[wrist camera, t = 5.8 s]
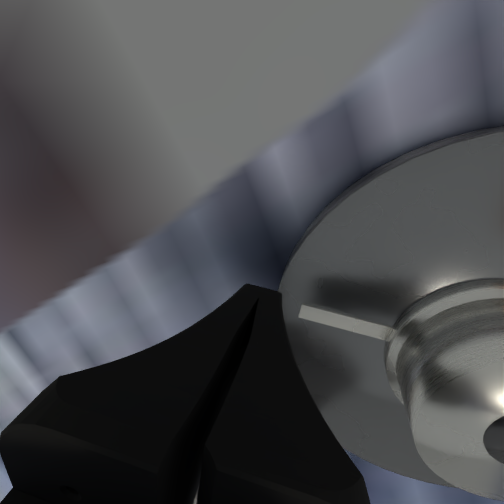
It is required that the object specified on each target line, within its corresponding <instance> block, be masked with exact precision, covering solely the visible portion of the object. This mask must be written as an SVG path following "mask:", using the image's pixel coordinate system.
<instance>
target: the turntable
mask: <svg viewBox="0 0 504 504" xmlns="http://www.w3.org/2000/svg"><path fill="white" fill-rule="evenodd" d="M483 279H504V126H502V127H496V128H489V129H482V130H476V131H472V132H469V133H465V134H461V135H457V136H454V137H450V138H446V139H442V140H439V141H436V142H434V143H431V144H428V145H426V146H423V147H421V148H418V149H416V150H413V151H410V152H408V153H405V154H403V155H401V156H400V157H398V158H396V159H394V160H392V161H390V162H388V163H386V164H384V165H382V166H380V167H378V168H377V169H375V170H373V171H372V172H370V173H369V174H367V175H366V176H364V177H363V178H361V179H360V180H358V181H357V182H355V183H354V184H353V185H351V186H350V187H348V188H347V189H346V190H345V191H344V192H342V193H341V194H340V195H339V196H338V197H337V198H336V199H334V200H333V201H332V202H331V203H330V204H329V205H328V206H326V208H325V209H324V210H323V211H322V212H321V213H320V214H319V215H318V216H317V218H316V219H315V220H314V221H313V222H312V223H311V224H310V225H309V227H308V228H307V230H306V231H305V233H304V234H303V236H302V237H301V238H300V240H299V241H298V243H297V244H296V246H295V248H294V250H293V252H292V254H291V256H290V258H289V260H288V262H287V264H286V266H285V269H284V272H283V276H282V279H281V282H280V285H279V289H278V292H281V294H282V309H283V316H284V321H285V326H286V330H287V334H288V338H289V342H290V345H291V348H292V351H293V354H294V357H295V360H296V362H297V365H298V367H299V370H300V372H301V375H302V377H303V379H304V381H305V383H306V386H307V388H308V390H309V392H310V394H311V396H312V397H313V399H314V401H315V403H316V405H317V407H318V408H319V410H320V412H321V414H322V416H323V418H324V419H325V421H326V423H327V424H328V426H329V427H330V429H331V431H332V432H333V434H334V435H335V437H336V439H337V440H338V442H339V443H340V445H341V446H342V447H343V448H344V449H346V450H348V451H350V452H351V453H353V454H355V455H357V456H358V457H360V458H362V459H364V460H366V461H368V462H370V463H372V464H375V465H377V466H379V467H381V468H384V469H386V470H389V471H392V472H394V473H397V474H400V475H403V476H406V477H410V478H413V479H417V480H420V481H424V482H428V483H433V484H438V485H443V486H448V487H454V488H458V487H456V486H454V485H452V484H450V483H448V482H447V481H445V480H444V479H442V478H441V477H439V476H438V475H437V474H435V473H434V472H433V471H432V470H431V469H430V468H429V467H428V466H427V465H426V464H425V462H424V461H423V460H422V458H421V456H420V455H419V453H418V451H417V448H416V446H415V442H414V439H413V435H412V431H411V428H410V424H409V420H408V417H407V413H406V410H405V406H404V405H403V404H402V403H401V402H400V400H399V399H398V398H397V397H396V395H395V394H394V392H393V390H392V389H391V386H390V383H389V381H388V377H387V373H386V369H385V364H384V347H385V342H386V339H387V336H388V334H389V332H390V330H391V328H392V327H393V325H394V324H395V323H396V321H397V320H398V319H399V317H400V316H401V315H402V314H403V313H404V312H405V311H406V310H407V309H409V308H410V307H411V306H413V305H414V304H415V303H417V302H418V301H420V300H421V299H423V298H425V297H426V296H428V295H430V294H432V293H435V292H437V291H439V290H441V289H444V288H447V287H450V286H453V285H456V284H460V283H464V282H469V281H476V280H483Z"/></svg>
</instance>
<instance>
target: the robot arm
mask: <svg viewBox="0 0 504 504" xmlns="http://www.w3.org/2000/svg"><path fill="white" fill-rule="evenodd" d="M0 454H1V457H2V460H3V462H4V465H5V468H6V470H7V473H8V475H9V478H10V481H11V483H12V486H13V488H12V489H11V491H10V492H9V493H8V494H7V495H6V497H5V498H4V499H3V500H2V501H1V503H0V504H193V503H194V500H195V496H196V493H197V490H198V487H199V490H198V498H197V504H370V500H369V496H368V492H367V488H366V485H365V481H364V478H363V476H362V474H361V473H360V471H359V470H358V469H357V467H356V466H355V465H354V463H353V462H352V460H351V459H350V458H349V456H348V455H347V453H346V452H345V451H344V449H343V448H342V446H341V445H340V443H339V442H338V440H337V439H336V437H335V435H334V434H333V432H332V431H331V429H330V427H329V426H328V424H327V423H326V421H325V419H324V418H323V416H322V414H321V412H320V410H319V408H318V407H317V405H316V403H315V401H314V399H313V397H312V396H311V394H310V392H309V390H308V388H307V386H306V383H305V381H304V379H303V377H302V375H301V372H300V370H299V367H298V365H297V362H296V360H295V357H294V354H293V351H292V348H291V345H290V342H289V338H288V334H287V330H286V326H285V321H284V316H283V309H282V294H281V292H278V291H274V290H270V289H266V288H263V287H259V286H255V285H251V284H245V285H244V286H243V287H242V288H241V289H240V290H238V291H237V292H236V293H235V294H234V295H233V296H232V297H231V298H229V299H228V300H227V301H226V302H224V303H223V304H222V305H221V306H219V307H218V308H217V309H216V310H214V311H213V312H211V313H210V314H209V315H207V316H206V317H204V318H203V319H201V320H200V321H198V322H197V323H195V324H194V325H192V326H190V327H189V328H187V329H185V330H184V331H182V332H180V333H178V334H177V335H175V336H173V337H171V338H169V339H167V340H165V341H163V342H161V343H159V344H156V345H154V346H152V347H150V348H147V349H145V350H143V351H140V352H138V353H135V354H132V355H130V356H127V357H124V358H121V359H119V360H116V361H113V362H110V363H106V364H103V365H100V366H96V367H93V368H89V369H86V370H82V371H78V372H75V373H71V374H67V375H63V376H59V377H58V378H57V379H56V380H55V381H54V382H53V383H51V384H50V385H49V386H48V387H47V388H46V389H44V390H43V391H42V392H41V393H40V394H39V395H38V396H37V397H36V398H35V399H34V400H33V401H32V402H31V403H30V404H29V405H28V406H27V407H26V408H25V409H24V410H23V411H22V412H21V413H20V414H19V415H18V416H17V417H16V418H15V419H14V420H13V421H12V422H11V423H10V424H9V425H8V426H7V427H6V428H5V429H4V430H3V431H2V432H1V435H0Z"/></svg>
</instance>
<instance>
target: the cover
mask: <svg viewBox="0 0 504 504" xmlns="http://www.w3.org/2000/svg"><path fill="white" fill-rule="evenodd" d="M384 364H385V369H386V373H387V377H388V381H389V383H390V386H391V389H392V390H393V392H394V394H395V395H396V397H397V398H398V399H399V400H400V402H401V403H402V404H403V405H404V406H405V410H406V413H407V417H408V420H409V424H410V428H411V431H412V435H413V439H414V442H415V446H416V448H417V451H418V453H419V455H420V456H421V458H422V460H423V461H424V462H425V464H426V465H427V466H428V467H429V468H430V469H431V470H432V471H433V472H434V473H435V474H437V475H438V476H439V477H441V478H442V479H444V480H445V481H447V482H448V483H450V484H452V485H454V486H456V487H458V488H460V489H462V490H465V491H467V492H470V493H473V494H476V495H479V496H482V497H486V498H490V499H494V500H500V501H504V279H483V280H476V281H469V282H464V283H460V284H456V285H453V286H450V287H447V288H444V289H441V290H439V291H437V292H435V293H432V294H430V295H428V296H426V297H425V298H423V299H421V300H420V301H418V302H417V303H415V304H414V305H413V306H411V307H410V308H409V309H407V310H406V311H405V312H404V313H403V314H402V315H401V316H400V317H399V319H398V320H397V321H396V323H395V324H394V325H393V327H392V328H391V330H390V332H389V334H388V336H387V339H386V342H385V347H384Z"/></svg>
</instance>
